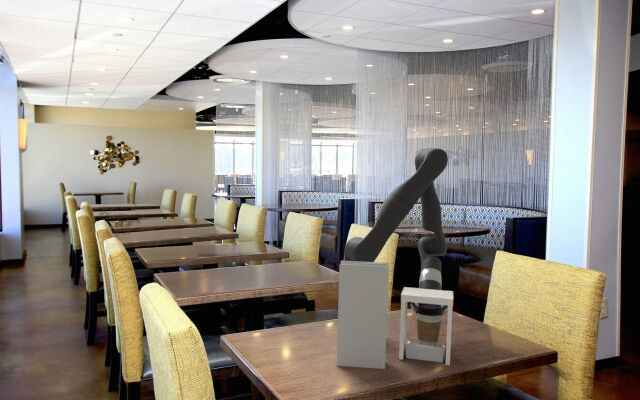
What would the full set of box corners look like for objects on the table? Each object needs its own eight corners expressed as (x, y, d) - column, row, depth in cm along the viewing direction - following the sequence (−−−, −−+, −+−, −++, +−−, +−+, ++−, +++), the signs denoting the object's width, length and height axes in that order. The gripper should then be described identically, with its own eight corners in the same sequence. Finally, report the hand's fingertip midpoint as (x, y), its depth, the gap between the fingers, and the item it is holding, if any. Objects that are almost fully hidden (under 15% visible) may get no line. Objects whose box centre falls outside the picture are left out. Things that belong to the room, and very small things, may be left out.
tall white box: (384, 361, 154) (388, 262, 152) (385, 368, 149) (389, 266, 146) (337, 358, 155) (340, 260, 153) (336, 365, 150) (339, 264, 148)
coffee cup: (442, 347, 167) (444, 302, 166) (439, 356, 160) (441, 309, 158) (416, 343, 170) (418, 299, 169) (412, 352, 162) (414, 305, 161)
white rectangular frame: (398, 359, 156) (401, 294, 155) (402, 344, 169) (404, 285, 167) (450, 365, 153) (453, 299, 151) (450, 350, 165) (452, 289, 164)
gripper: (410, 277, 178) (407, 322, 167) (450, 280, 175) (449, 326, 164) (411, 288, 184) (407, 333, 173) (449, 291, 180) (448, 337, 170)
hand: (427, 329), depth 168 cm, fingers closed
